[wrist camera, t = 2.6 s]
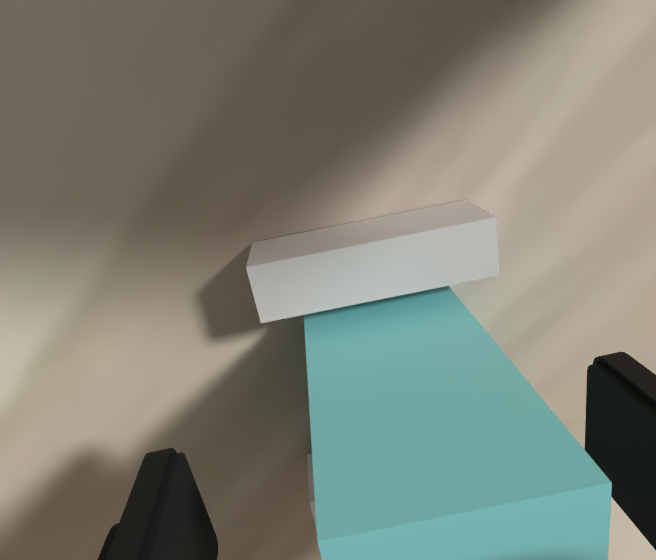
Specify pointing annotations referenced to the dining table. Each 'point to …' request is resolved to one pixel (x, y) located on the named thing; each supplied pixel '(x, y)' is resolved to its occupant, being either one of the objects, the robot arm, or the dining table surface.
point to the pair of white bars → (371, 264)
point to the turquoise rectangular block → (440, 443)
